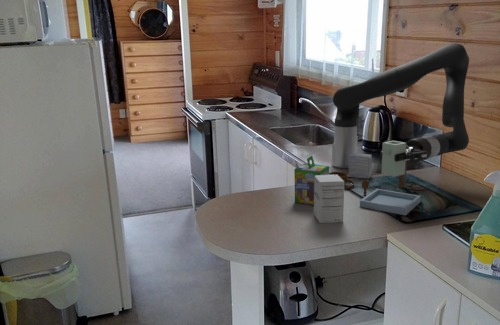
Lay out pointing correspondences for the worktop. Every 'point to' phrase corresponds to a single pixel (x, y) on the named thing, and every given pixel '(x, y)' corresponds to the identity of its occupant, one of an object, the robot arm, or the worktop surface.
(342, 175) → the place setting
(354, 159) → the medicine box
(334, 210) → the supplement box
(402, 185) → the post
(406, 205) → the tray
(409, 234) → the worktop surface
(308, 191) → the chalk box
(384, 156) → the green square vase
